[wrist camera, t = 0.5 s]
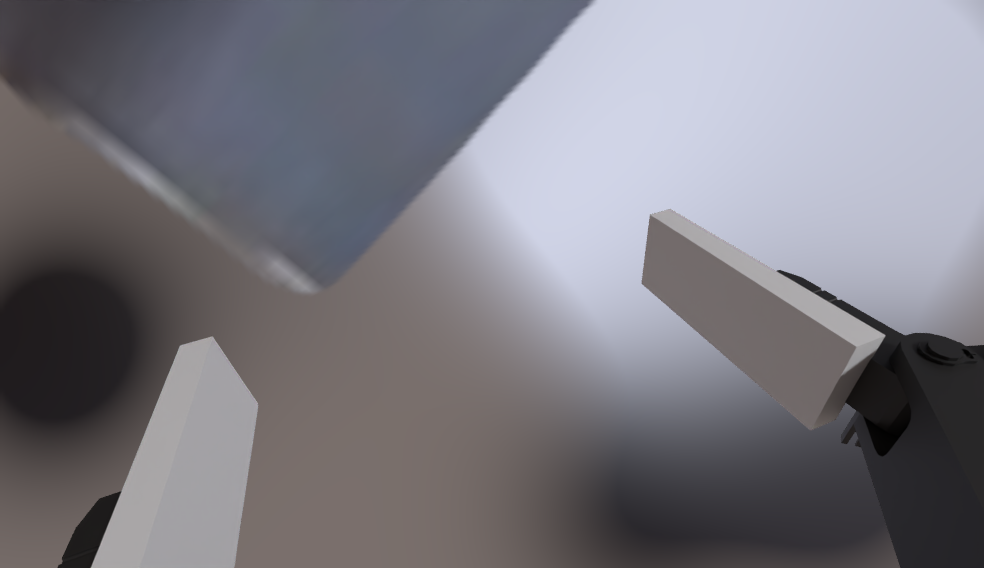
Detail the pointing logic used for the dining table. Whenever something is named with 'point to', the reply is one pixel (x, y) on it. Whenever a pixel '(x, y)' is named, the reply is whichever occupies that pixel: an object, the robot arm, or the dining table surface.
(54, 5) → the dining table surface
